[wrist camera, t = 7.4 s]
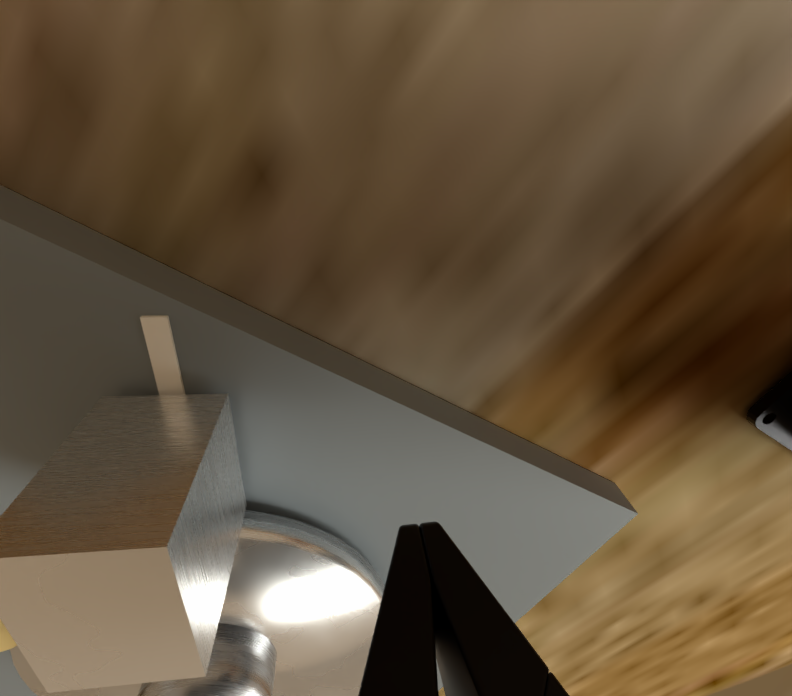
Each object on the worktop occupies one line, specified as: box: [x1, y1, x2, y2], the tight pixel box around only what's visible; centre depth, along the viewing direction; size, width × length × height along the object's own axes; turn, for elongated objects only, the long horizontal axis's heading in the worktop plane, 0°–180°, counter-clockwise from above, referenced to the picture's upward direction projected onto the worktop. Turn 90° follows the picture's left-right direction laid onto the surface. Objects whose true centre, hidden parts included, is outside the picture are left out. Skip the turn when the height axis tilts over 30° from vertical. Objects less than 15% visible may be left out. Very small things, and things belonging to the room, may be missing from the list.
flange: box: [0, 394, 385, 696], centre depth 13 cm, size 12×15×4 cm
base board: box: [0, 185, 638, 696], centre depth 15 cm, size 22×22×6 cm
